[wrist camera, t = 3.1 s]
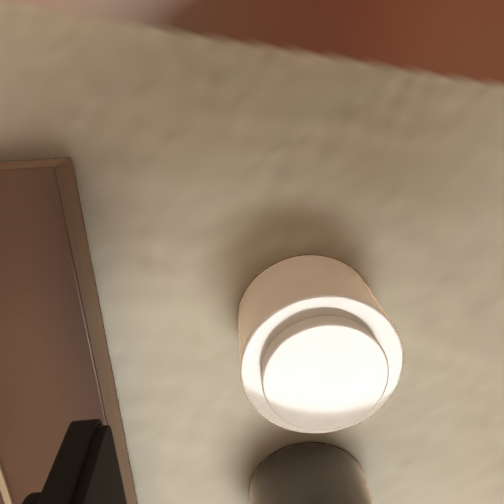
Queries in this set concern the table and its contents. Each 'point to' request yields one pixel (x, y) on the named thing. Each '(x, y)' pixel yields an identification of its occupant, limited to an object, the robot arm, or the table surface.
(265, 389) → the white stone
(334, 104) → the table surface
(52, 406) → the game board
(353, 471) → the lidded canister
